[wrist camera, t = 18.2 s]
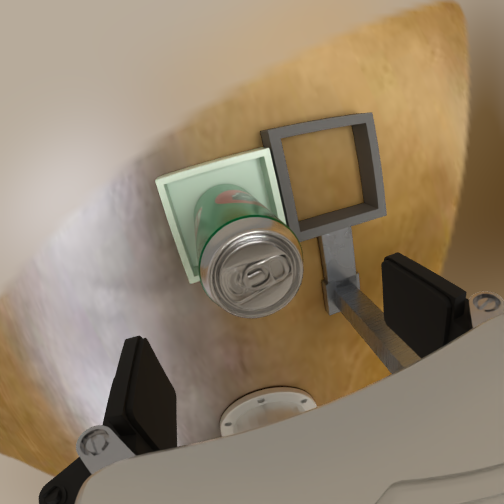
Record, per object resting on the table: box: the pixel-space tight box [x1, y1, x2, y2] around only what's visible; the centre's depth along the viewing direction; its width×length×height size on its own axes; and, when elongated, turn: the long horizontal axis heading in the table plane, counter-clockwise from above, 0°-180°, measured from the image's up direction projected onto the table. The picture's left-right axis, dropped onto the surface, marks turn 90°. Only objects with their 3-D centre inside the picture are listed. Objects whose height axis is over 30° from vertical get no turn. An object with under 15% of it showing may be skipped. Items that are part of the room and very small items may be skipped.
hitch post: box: [318, 226, 421, 374], centre depth 23 cm, size 9×4×14 cm, turn 14°
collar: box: [260, 113, 387, 242], centre depth 24 cm, size 9×9×2 cm
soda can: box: [194, 184, 303, 318], centre depth 19 cm, size 5×5×12 cm
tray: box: [155, 147, 286, 284], centre depth 24 cm, size 8×8×2 cm
